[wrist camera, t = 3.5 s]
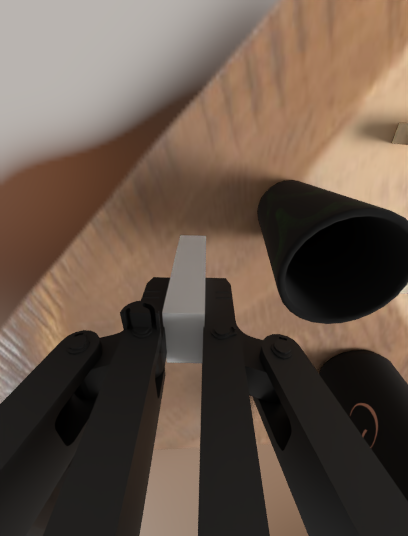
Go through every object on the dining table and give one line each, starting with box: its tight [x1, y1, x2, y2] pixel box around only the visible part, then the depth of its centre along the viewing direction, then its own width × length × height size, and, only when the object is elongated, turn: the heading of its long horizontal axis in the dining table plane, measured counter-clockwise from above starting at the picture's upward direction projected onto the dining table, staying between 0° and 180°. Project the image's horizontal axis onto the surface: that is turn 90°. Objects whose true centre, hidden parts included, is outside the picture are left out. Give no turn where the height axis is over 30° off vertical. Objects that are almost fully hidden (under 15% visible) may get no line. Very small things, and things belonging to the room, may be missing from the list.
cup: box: [257, 180, 408, 324], centre depth 19 cm, size 8×8×12 cm
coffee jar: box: [319, 350, 408, 501], centre depth 29 cm, size 11×11×18 cm
